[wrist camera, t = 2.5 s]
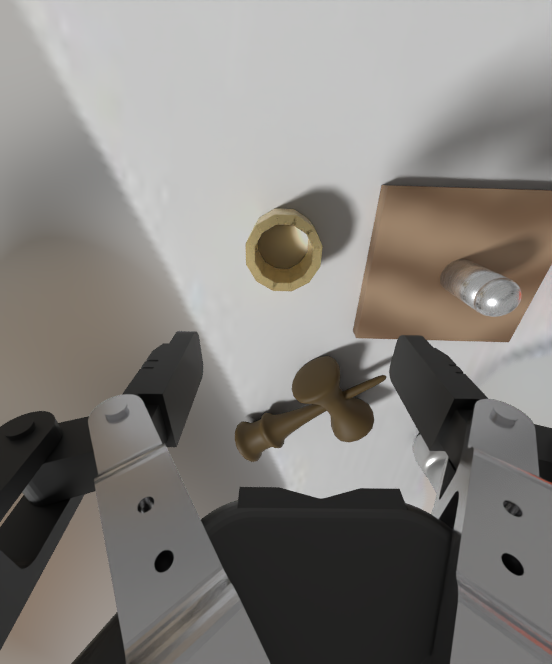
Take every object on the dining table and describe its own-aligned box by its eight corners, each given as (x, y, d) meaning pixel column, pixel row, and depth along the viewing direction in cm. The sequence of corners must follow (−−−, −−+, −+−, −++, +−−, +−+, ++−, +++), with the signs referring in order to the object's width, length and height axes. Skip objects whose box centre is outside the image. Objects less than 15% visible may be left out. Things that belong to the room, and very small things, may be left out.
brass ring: (249, 207, 23) (244, 213, 20) (319, 209, 23) (325, 215, 20) (251, 274, 26) (246, 290, 23) (312, 276, 26) (317, 291, 23)
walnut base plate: (381, 185, 22) (387, 185, 21) (573, 190, 23) (591, 191, 21) (353, 330, 30) (356, 338, 28) (498, 334, 30) (508, 342, 28)
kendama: (223, 405, 36) (358, 330, 30) (267, 441, 40) (394, 383, 34) (214, 444, 31) (374, 366, 25) (265, 481, 35) (414, 423, 29)
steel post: (446, 258, 24) (497, 284, 18) (480, 259, 24) (541, 285, 18) (435, 290, 26) (479, 323, 20) (467, 291, 26) (520, 324, 20)
